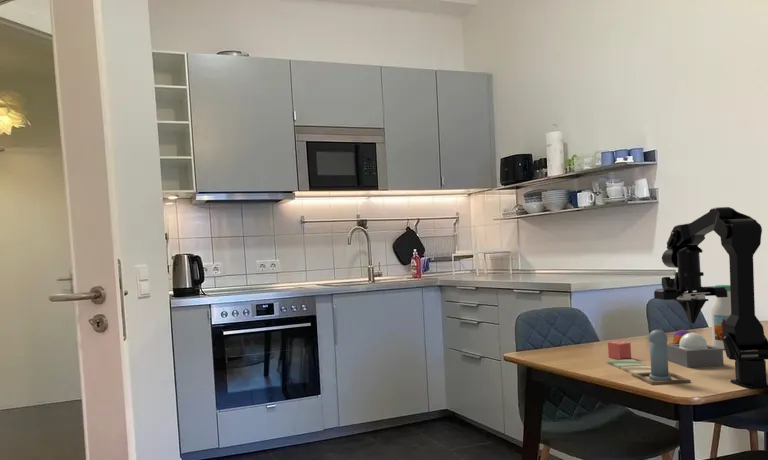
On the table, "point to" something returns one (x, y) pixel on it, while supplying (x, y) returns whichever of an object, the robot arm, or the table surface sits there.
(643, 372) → the game track
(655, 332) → the pawn
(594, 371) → the table surface
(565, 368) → the table surface
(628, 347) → the red block
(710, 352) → the grey open box
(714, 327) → the milk bottle
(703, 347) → the dome
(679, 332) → the maraca
